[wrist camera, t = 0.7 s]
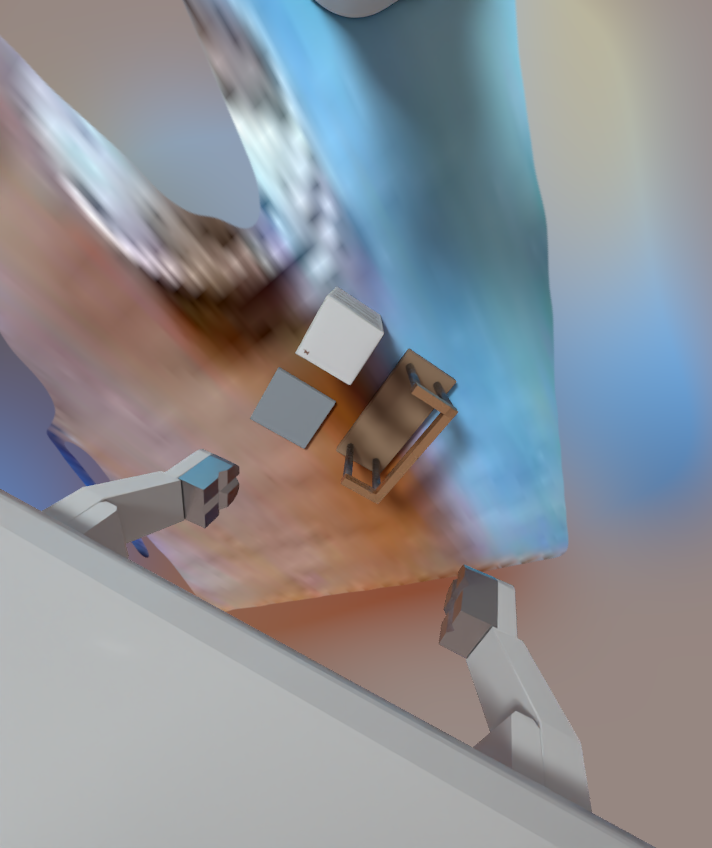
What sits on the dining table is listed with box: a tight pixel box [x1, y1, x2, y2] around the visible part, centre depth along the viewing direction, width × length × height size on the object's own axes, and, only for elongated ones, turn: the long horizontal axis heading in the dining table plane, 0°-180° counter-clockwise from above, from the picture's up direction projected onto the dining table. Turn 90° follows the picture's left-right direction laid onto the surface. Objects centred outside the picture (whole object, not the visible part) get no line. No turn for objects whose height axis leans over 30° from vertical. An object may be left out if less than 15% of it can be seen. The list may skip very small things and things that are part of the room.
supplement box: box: [296, 287, 384, 385], centre depth 42 cm, size 7×7×13 cm
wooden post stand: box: [341, 363, 458, 504], centre depth 49 cm, size 17×6×10 cm, turn 147°
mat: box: [250, 367, 336, 448], centre depth 54 cm, size 10×10×1 cm
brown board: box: [336, 349, 456, 473], centre depth 54 cm, size 20×8×1 cm, turn 147°
